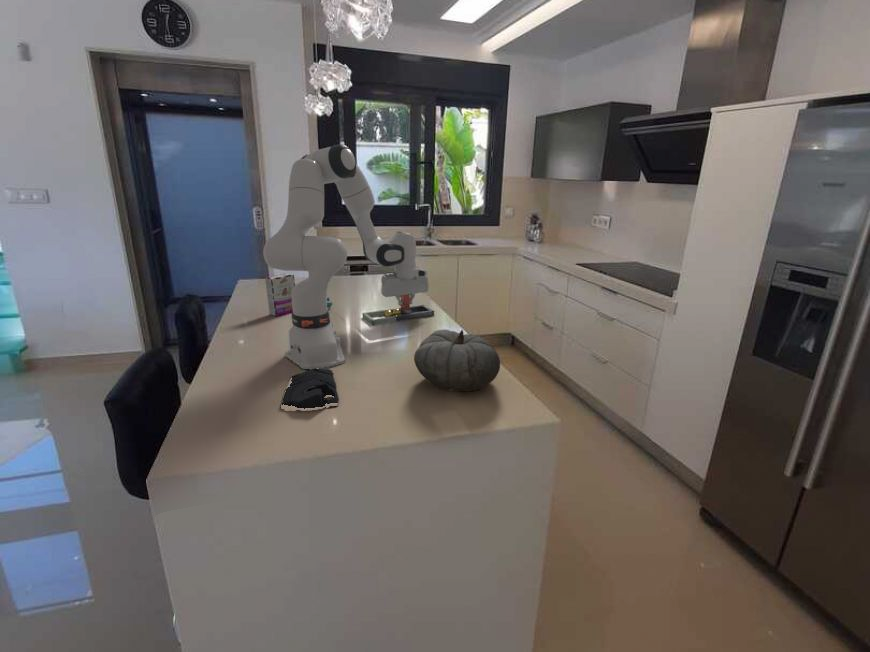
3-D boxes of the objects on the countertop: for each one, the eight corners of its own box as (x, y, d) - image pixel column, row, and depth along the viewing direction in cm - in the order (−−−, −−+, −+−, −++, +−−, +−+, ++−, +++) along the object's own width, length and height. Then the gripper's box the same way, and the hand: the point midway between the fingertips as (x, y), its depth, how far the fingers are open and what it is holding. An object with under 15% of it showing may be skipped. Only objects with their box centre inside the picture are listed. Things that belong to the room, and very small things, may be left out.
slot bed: (434, 317, 192) (434, 310, 191) (395, 323, 183) (395, 316, 182) (423, 311, 200) (423, 304, 199) (385, 316, 192) (385, 310, 191)
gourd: (423, 400, 117) (428, 334, 115) (403, 375, 141) (406, 320, 139) (511, 398, 125) (517, 336, 122) (477, 375, 148) (482, 323, 146)
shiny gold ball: (390, 309, 184) (384, 315, 184) (395, 315, 186) (389, 321, 186) (387, 307, 187) (381, 313, 187) (392, 313, 189) (385, 319, 188)
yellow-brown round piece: (399, 308, 186) (393, 313, 185) (404, 314, 188) (397, 319, 187) (395, 306, 189) (389, 311, 188) (400, 311, 191) (394, 317, 190)
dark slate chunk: (340, 375, 138) (339, 361, 137) (338, 411, 118) (337, 394, 116) (288, 378, 136) (286, 363, 134) (277, 415, 115) (275, 399, 114)
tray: (395, 324, 183) (395, 317, 182) (372, 327, 178) (372, 320, 177) (385, 316, 192) (384, 309, 191) (362, 319, 187) (362, 312, 187)
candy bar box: (290, 308, 200) (287, 272, 195) (298, 311, 198) (294, 274, 192) (268, 314, 192) (264, 276, 187) (275, 317, 189) (271, 278, 184)
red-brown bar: (411, 316, 188) (411, 292, 185) (405, 316, 187) (405, 293, 184) (405, 312, 193) (405, 289, 190) (399, 313, 192) (399, 290, 189)
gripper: (384, 275, 177) (385, 309, 181) (430, 271, 186) (430, 303, 191) (378, 272, 182) (379, 305, 186) (423, 268, 191) (423, 300, 196)
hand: (405, 304), depth 189 cm, fingers closed on red-brown bar, 3 cm apart
